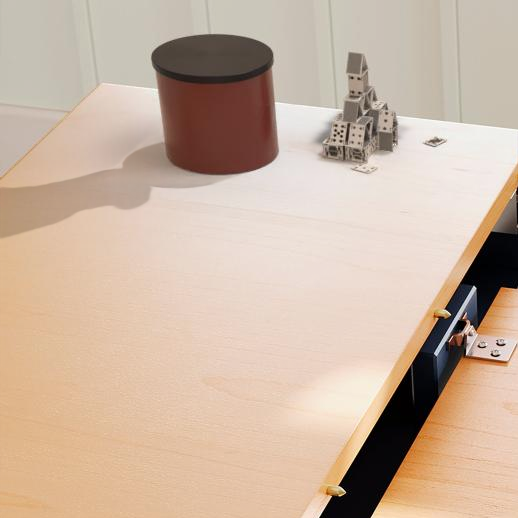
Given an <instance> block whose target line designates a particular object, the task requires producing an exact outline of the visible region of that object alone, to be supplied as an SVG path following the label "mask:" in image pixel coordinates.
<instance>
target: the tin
mask: <svg viewBox="0 0 518 518" xmlns="http://www.w3.org/2000/svg"><path fill="white" fill-rule="evenodd" d="M150 60H151V66H152V68H153V69H154V71H155V78H156V85H157V94H158V101H159V108H160V117H161V123H162V132H163V139H164V147H165V154H166V158H167V160H168V161H169V162H170V163H171V164H172V165H174V166H176V167H177V168H180V169H182V170H185V171H187V172H191V173H195V174H196V173H197V174H202V175H203V174H205V175H219V176H220V175H234V174H242V173H246V172H251V171H255V170H258V169H261V168H263V167H265V166H267V165H269V164H270V163H272V162H273V161H274V160H275V159H276V158H277V157H278V155H279V153H280V152H279V151H280V147H279V137H278V125H277V123H278V122H277V112H276V111H277V110H276V100H275V89H274V87H275V86H274V76H273V75H274V74H273V66H274V63H275V59H274V52H273V49H272V48H271V47H270V46H269V45H267V44H266V43H264V41H263V42H262V41H260V40H258V39H255V38H251V37H247V36H242V35H237V34H236V35H235V34H225V33H205V34H194V35H187V36H183V37H179V38H178V37H177V38H174V39H171V40H169V41H166V42H164V43H162V44H160V45H158V46H157V47H156V48H154V50H153V51H152V52H151V54H150Z"/></svg>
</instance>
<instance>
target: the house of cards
mask: <svg viewBox="0 0 518 518" xmlns="http://www.w3.org/2000/svg"><path fill="white" fill-rule="evenodd" d="M347 52H348V53H347V61H346V69H345V75H347V82H348V83H347V87H348V93H347V94H346V96H345V97H344V98H343V104H342V111H341V113H340V112H339V113H338V114H337V115H336V116H335V117H334V118H333V119H332V120H331V130H330V134H329V136H327V137H326V138H325V139H324V141H322V156H323V158H328V159H334V160H341V161H345V162H347V161H351V162H357V164H355V165H354V166H352V167H351V170H356V171H358V172H363V173H366V174H370V173H372V172H374V171H375V170H377V169H378V167H376V166H373V165H369V164H368V163H369V162H368V161H369V158H370V157H371V155H372V154H373V153H374V152H375V151H376V150H378V151H380V150H383V151H382V152H388V151H389V152H388V153H394V146H396V145H398V146H399V135H398V134H399V132H398V126H399V122H398V118H397V115H396V111H395V110H391V109H389V106H388V103H387V101H383V100H378V96H377V93H376V90H375V85H369V69H370V68H369V66H368V63H367V60H366V56H365V53H362V52H361V53H360V52H354V51H347ZM446 141H448V139H447V138H443V137H441V136H438V135H434V136H432V137H431V138H429V139H426V140H425V141H423V143H424V144H427V145H430V146H433V147H436V146H439V145H440V144H442V143H444V142H446ZM393 144H394V145H393ZM395 144H396V145H395ZM377 146H378V147H377ZM377 148H378V149H377ZM373 151H374V152H373Z"/></svg>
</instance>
